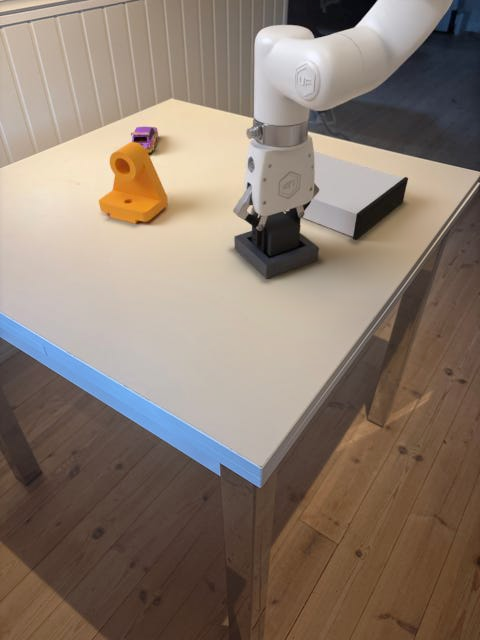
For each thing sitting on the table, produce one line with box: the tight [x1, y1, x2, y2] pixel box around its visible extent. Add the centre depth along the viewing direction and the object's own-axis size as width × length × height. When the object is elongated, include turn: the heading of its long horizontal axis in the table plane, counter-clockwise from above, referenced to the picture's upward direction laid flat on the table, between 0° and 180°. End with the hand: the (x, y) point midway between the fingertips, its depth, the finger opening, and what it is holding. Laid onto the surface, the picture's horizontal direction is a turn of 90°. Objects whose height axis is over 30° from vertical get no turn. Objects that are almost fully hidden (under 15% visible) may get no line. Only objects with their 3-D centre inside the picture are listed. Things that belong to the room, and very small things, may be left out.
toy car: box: [130, 126, 159, 154], centre depth 115 cm, size 6×12×5 cm, turn 179°
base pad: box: [233, 230, 320, 280], centre depth 80 cm, size 10×10×2 cm
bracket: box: [98, 141, 169, 224], centre depth 88 cm, size 11×7×12 cm, turn 65°
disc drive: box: [285, 151, 409, 241], centre depth 93 cm, size 18×22×5 cm
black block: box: [257, 211, 301, 256], centre depth 78 cm, size 6×6×4 cm
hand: (275, 241), depth 79 cm, fingers closed on black block, 5 cm apart
